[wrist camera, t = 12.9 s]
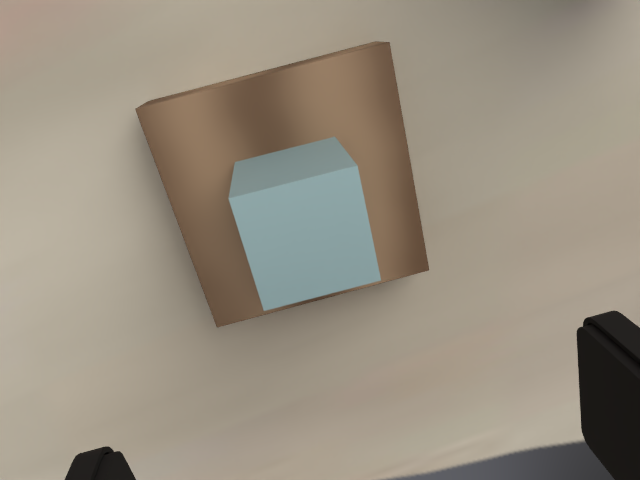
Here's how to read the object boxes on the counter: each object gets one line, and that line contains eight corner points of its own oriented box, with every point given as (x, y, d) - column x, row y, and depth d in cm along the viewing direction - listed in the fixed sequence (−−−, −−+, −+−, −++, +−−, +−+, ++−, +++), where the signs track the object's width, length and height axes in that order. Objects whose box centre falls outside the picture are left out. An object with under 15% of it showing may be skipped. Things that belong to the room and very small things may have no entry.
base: (375, 41, 26) (389, 42, 24) (413, 249, 31) (429, 270, 28) (148, 101, 26) (135, 109, 23) (220, 301, 31) (217, 327, 28)
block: (335, 136, 25) (357, 165, 19) (355, 229, 27) (381, 280, 21) (234, 162, 25) (228, 198, 19) (262, 254, 27) (264, 311, 21)
